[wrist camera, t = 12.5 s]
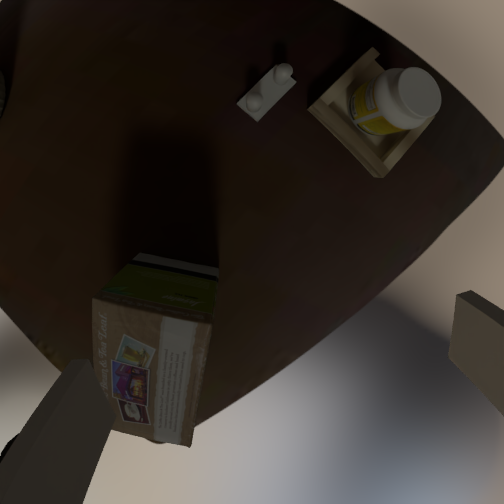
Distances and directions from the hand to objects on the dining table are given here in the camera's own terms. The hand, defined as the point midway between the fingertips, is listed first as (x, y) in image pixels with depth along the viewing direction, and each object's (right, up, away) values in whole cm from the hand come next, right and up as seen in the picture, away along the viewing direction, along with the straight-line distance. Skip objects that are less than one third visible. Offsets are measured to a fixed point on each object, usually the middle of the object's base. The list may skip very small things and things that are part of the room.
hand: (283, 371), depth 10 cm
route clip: (+1, +21, +22) cm, 31 cm away
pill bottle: (+13, +20, +23) cm, 33 cm away
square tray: (+13, +20, +23) cm, 33 cm away
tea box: (-11, -4, +29) cm, 31 cm away
